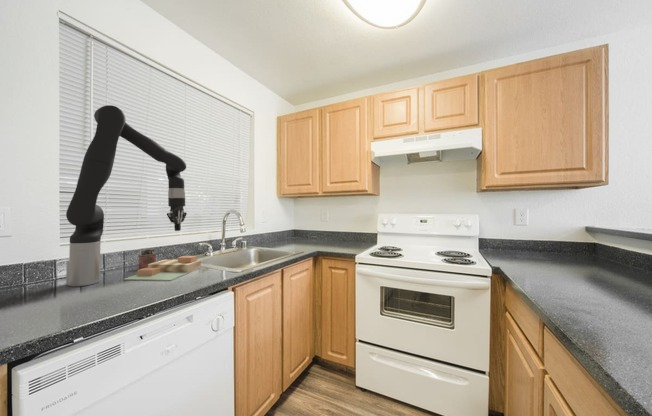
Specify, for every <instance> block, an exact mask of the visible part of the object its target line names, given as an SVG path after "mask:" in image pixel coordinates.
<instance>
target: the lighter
mask: <svg viewBox="0 0 652 416" xmlns="http://www.w3.org/2000/svg"><path fill="white" fill-rule="evenodd" d="M154 262H157V253H156V248H151V249H150V248H146V249H143V250H141V254H138V267H137V268H138V269H143V268H148V264H151V263H154ZM138 269H137V270H138Z"/></svg>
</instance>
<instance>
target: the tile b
mask: <svg viewBox="0 0 652 416" xmlns="http://www.w3.org/2000/svg"><path fill="white" fill-rule="evenodd" d="M197 257H198V256H197V255H182V256H179V257H177V260H178V262H183V263H192V262H194V261H197V260H198V259H197Z"/></svg>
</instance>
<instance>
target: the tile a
mask: <svg viewBox="0 0 652 416" xmlns="http://www.w3.org/2000/svg"><path fill="white" fill-rule="evenodd" d="M136 273H137V274H136V275H137V276H153V275H156V274H159V273H160V268H143V269H140V270H138V269H137V271H136Z"/></svg>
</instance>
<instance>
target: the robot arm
mask: <svg viewBox="0 0 652 416" xmlns="http://www.w3.org/2000/svg"><path fill="white" fill-rule="evenodd" d="M93 118H94V120H95V122H96V127H95V128H96V129H95V134H94V136H93V138H92V140H91V141H90V143H89V145H88V147H87V149H86V151H85V154H84V156H83V160H82V163H81V167H80V172H79V176H78V180H77V183H76V187H75V190H74V193H73V196H72V198H71V200H70V203H69V205H68V207H67V210H66V214H65V217H66V219H67V221H68V223H70V224H71V225H73V226H75V228H74V232H73V233H72V234H71V235H70V236H69V252H68V254H69V258H68V259H69V260H68V261H66V273H65V275H66V276H65V277H66V279H65V282H66V283H65V285H66V286H68V287H83V286H89V285H90V286H91V285H94V284H97V283H100V279H101V278H100V276H101V275H100V274H101V273H100V272H101V237H102V235H103V234H104V226H105V225H104V222H105V214H104V211H103V208H102V207H101V206H99V205H97V201H98V196H99V194H100V193H101V190H102V189H103V187H104V186H105V184H106V183H107V182H108V181H109V179H110V176H111V173H112V171H113V167H114V163H115V158H116V153H117V148H118V147H117V146H118V142H119V139H120V137H121V138H122V139H124V140H125V141H128V142H129V143H131V145H133V146H135V147H136V148H138V149H140V151H142V152H144V153H145V154H146V155H147V156H149V157H150V158H152V159H154V160H155V161H157V162H160V163H163V164H165V172H166V176H167V180H168V190H167V191H168V192H167V201H168V207H169V208H170V209H169V212H167V213H166V215H167V218H168V219H169V222H170V223H171V224H172V223H173V225H174V232H179V231H181V230H182V229H181V226H182V225H181V224H182V223H183V222H184V221H185V219H186V217H187V215H188V214H187V212H185V211H184V207H185V206H186V192H185V191H186V190H185V180H184V178H183V177H181V176H182V175H181V173H182V172H185V171H186V170H187V164H186V162H185V160H184V159H182V157H180V156H179V155H176V154H174V153H173V152H171V151H169V150H167V149H166V148H165V147H164V146H162V145H160V144H159V143H158V142H157V141H155V140H153V139H151V138H150V137H148V136H146V135H145V134H143V133H141V132H140V131H138V130H136V129H135V128H134V127H132V126H131V125H130V124H128V123H127V122H126V115H125V113H124V112H123V110H122V109H120V108H119V107H118V106H115V105H110V104H109V105H107V104H106V105H102V106H100V107H99V108H97V110H95V111H94V116H93Z"/></svg>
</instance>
